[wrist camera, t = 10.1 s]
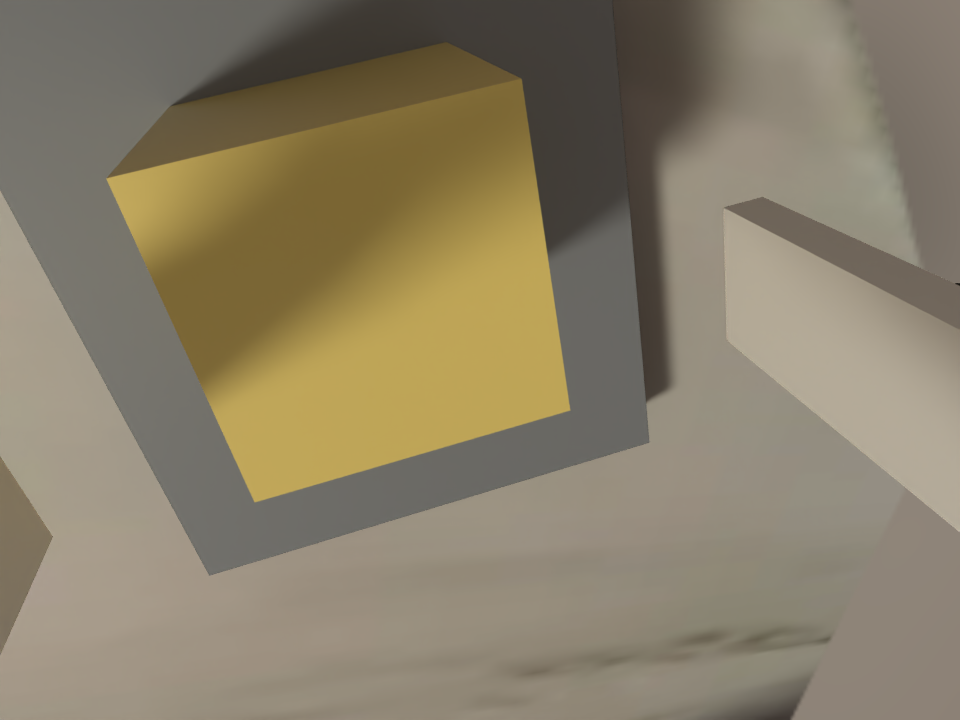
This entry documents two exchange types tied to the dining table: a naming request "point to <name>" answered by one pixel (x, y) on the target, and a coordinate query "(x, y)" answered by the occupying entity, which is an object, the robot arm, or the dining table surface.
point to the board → (270, 58)
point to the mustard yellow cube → (353, 262)
